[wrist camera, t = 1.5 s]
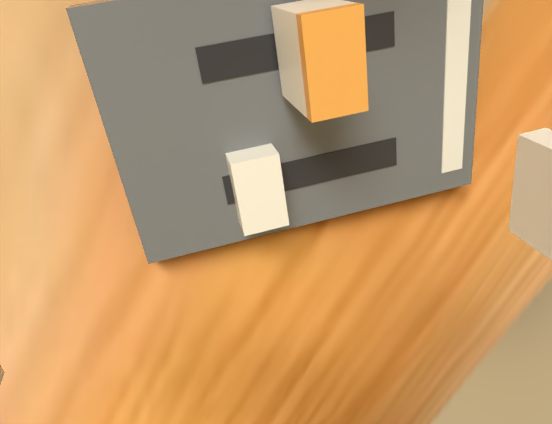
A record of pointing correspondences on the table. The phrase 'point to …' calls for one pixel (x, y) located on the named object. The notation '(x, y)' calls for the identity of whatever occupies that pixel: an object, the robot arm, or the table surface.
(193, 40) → the panel
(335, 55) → the handle
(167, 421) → the table surface
